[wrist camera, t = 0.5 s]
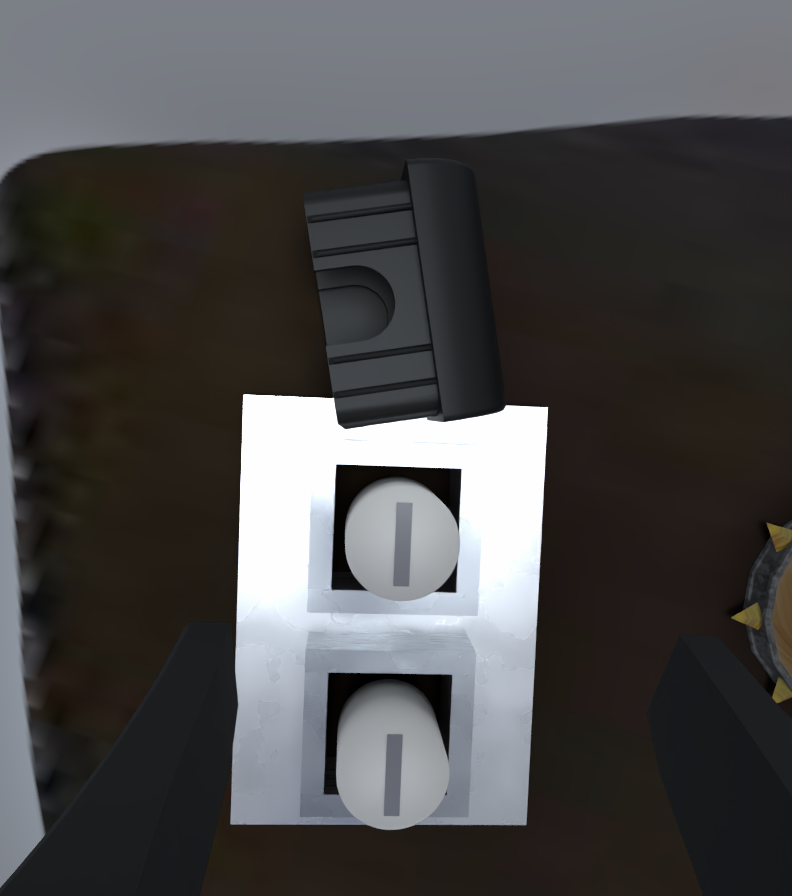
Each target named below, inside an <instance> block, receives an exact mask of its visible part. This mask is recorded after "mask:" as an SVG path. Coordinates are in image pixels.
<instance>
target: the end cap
mask: <svg viewBox="0 0 792 896" xmlns="http://www.w3.org/2000/svg"><path fill="white" fill-rule="evenodd" d="M303 199H304V206H305V213H306V219H307V226H308V232H309V239H310V246H311V252H312V259H313V265H314V272H315V273H316V277H317V283H318V290H319V295H320V301H321V308H322V315H323V321H324V328H325V334H326V341H327V346H326V351H327V358H328V364H329V371H330V378H331V384H332V391H333V397H334V404H335V411H336V417H337V423H338V425H340V426H341V427H342V428H344V429H345V430H346V429H352V428H359V427H366V426H373V425H379V424H386V423H393V422H399V421H406V420H413V419H420V418H426V417H427V420H428V421H435V422H443V423H444V422H450V421H457V420H463V419H469V418H475V417H481V416H486V415H491V414H495V413H499V412H502V411H503V410H504V409H505V407H506V400H505V393H504V385H503V378H502V371H501V363H500V356H499V349H498V342H497V334H496V327H495V320H494V312H493V305H492V298H491V290H490V283H489V276H488V268H487V261H486V254H485V246H484V239H483V232H482V224H481V217H480V210H479V202H478V195H477V188H476V181H475V175H474V173H473V170H472V169H471V168H470V167H469V166H467V165H466V164H464V163H461V162H458V161H454V160H449V159H439V158H420V159H410V160H406V162H405V166H404V170H403V174H402V178H401V180H399V181H392V182H384V183H376V184H368V185H360V186H353V187H345V188H337V189H329V190H321V191H314V192H308V193H304V194H303Z"/></svg>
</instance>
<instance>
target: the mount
mask: <svg viewBox="0 0 792 896" xmlns="http://www.w3.org/2000/svg"><path fill="white" fill-rule="evenodd" d="M547 415H548V407H525V406H506V407H505V409H504V410H503V411H502V412H499V413H495V414H491V415H486V416H481V417H475V418H469V419H463V420H457V421H450V422H444V423H443V422H435V421H428V420H427V417H426V418H420V419H413V420H406V421H399V422H393V423H386V424H379V425H373V426H366V427H359V428H352V429H346V430H345V429H344V428H342V427H341V426H340V425H338V423H337V417H336V411H335V404H334V398H310V397H286V396H262V395H244V396H243V429H242V463H241V496H240V529H239V562H238V595H237V628H236V662H235V673H236V684H237V695H238V711H237V719H236V726H235V734H234V742H233V761H232V794H231V824H305V825H367V824H365V823H363V822H361V821H360V820H358V819H357V818H356V817H355V816H354V815H352V814H351V813H350V811H349V810H348V809H347V808H346V806H345V805H344V803H343V801H342V799H341V797H340V795H339V792H338V788H337V782H336V764H337V756H326V741H327V714H328V687H329V673H390V674H441V684H440V706H439V730H440V734H441V737H442V741H443V744H444V748H445V751H446V755H447V758H448V762H449V774H450V775H449V783H448V787H447V790H446V793H445V796H444V798H443V799H442V801H441V803H440V804H439V806H438V807H437V808H436V809H435V811H434V812H433V813H432V814H431V815H429V816H428V817H427V818H426V819H424V820H423V821H421V822H419V823H417V824H415V825H526V821H527V801H528V782H529V763H530V743H531V724H532V705H533V685H534V666H535V647H536V627H537V608H538V589H539V569H540V550H541V531H542V511H543V492H544V473H545V453H546V434H547ZM337 464H348V465H376V466H403V467H431V468H450V484H449V506H448V509H449V510H450V512H451V514H452V515H453V517H454V519H455V521H456V523H457V527H458V530H459V536H460V551H459V556H458V560H457V563H456V566H455V568H454V570H453V572H452V573H451V575H450V576H449V578H448V579H447V580H446V582H445V583H444V584H443V585H442V586H441V587H439V588H438V589H437V590H436V591H434V592H432V593H431V594H429V595H427V596H425V597H423V598H419V599H416V600H411V601H392V600H388V599H384V598H381V597H379V596H377V595H375V594H373V593H371V592H370V591H368V590H367V589H366V588H365V587H363V586H362V585H361V584H360V583H359V581H358V580H357V579H356V578H355V576H354V575H353V573H352V572H333V551H334V524H335V497H336V470H337Z"/></svg>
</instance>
